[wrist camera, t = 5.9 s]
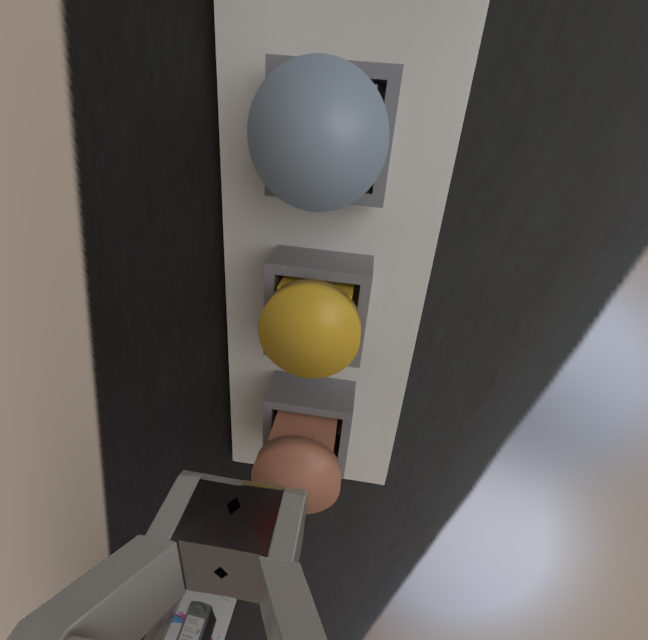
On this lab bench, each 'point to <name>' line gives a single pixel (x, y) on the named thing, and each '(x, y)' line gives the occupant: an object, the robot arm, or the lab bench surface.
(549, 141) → the lab bench surface
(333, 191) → the slate button
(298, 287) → the ochre button
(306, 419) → the terracotta button
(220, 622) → the ink box
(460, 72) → the console
